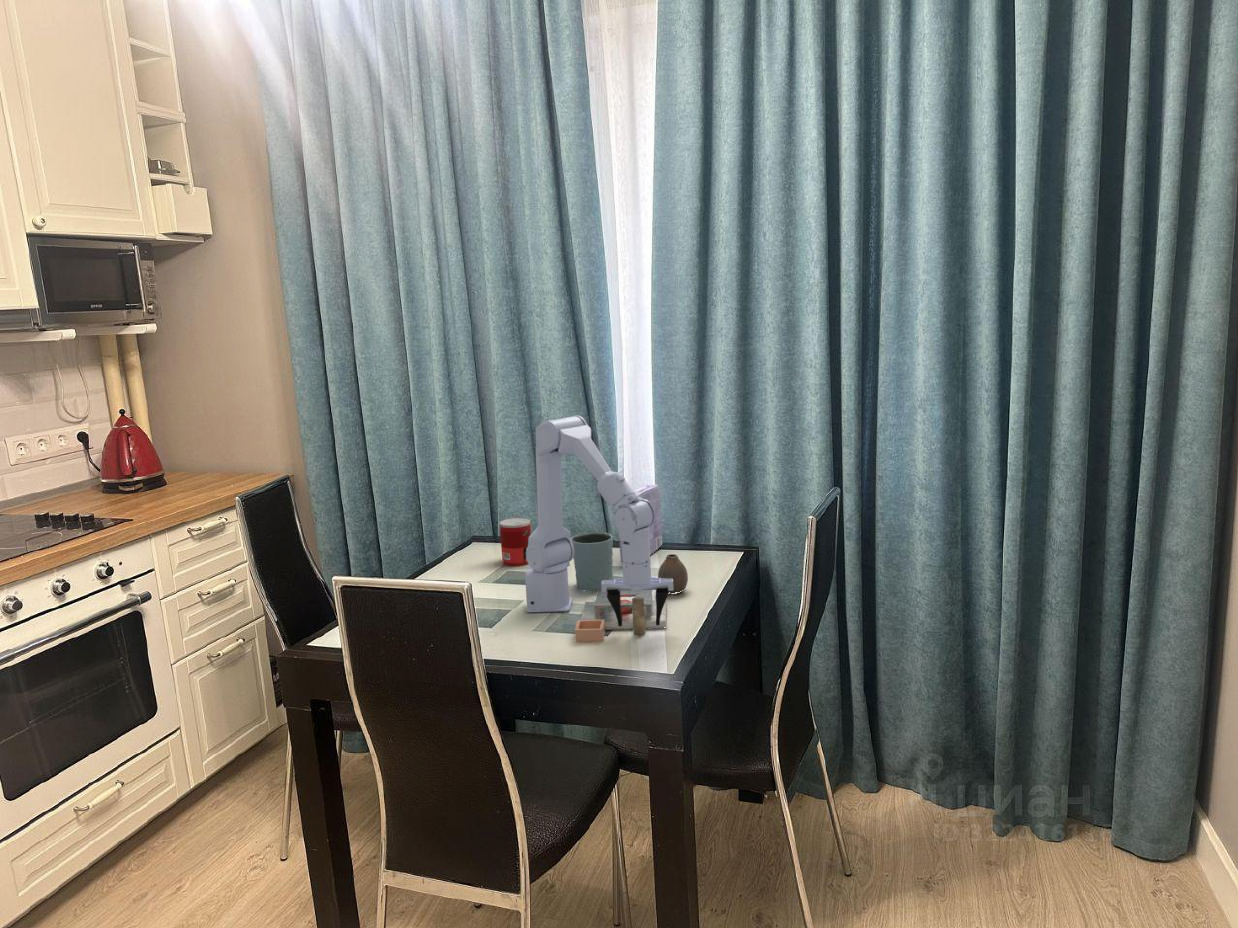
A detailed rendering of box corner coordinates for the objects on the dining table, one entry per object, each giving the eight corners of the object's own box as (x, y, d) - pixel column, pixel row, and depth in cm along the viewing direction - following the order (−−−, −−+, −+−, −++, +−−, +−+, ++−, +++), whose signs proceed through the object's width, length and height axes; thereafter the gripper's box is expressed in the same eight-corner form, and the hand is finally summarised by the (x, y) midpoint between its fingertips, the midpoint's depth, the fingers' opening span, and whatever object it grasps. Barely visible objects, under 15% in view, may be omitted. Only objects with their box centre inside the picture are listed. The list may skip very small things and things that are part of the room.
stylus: (633, 635, 186) (631, 600, 185) (633, 631, 188) (632, 596, 187) (645, 635, 186) (643, 600, 185) (645, 631, 188) (644, 596, 187)
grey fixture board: (580, 630, 190) (578, 610, 190) (585, 608, 203) (584, 589, 202) (666, 628, 189) (665, 608, 188) (666, 606, 202) (665, 587, 201)
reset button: (617, 615, 195) (617, 604, 194) (618, 610, 198) (617, 599, 197) (630, 614, 195) (630, 603, 194) (631, 610, 197) (630, 599, 197)
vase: (663, 598, 208) (662, 561, 206) (654, 589, 214) (653, 553, 213) (692, 594, 209) (691, 557, 208) (682, 585, 216) (681, 549, 214)
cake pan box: (648, 544, 251) (646, 482, 248) (665, 546, 249) (663, 483, 246) (618, 565, 234) (615, 498, 231) (636, 566, 232) (633, 499, 229)
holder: (575, 641, 184) (574, 630, 184) (578, 631, 190) (577, 620, 189) (603, 641, 184) (602, 629, 183) (605, 630, 189) (604, 619, 189)
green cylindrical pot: (610, 593, 213) (607, 543, 211) (568, 592, 215) (565, 542, 213) (618, 579, 223) (616, 531, 220) (578, 578, 225) (576, 531, 222)
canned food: (531, 565, 237) (528, 524, 235) (500, 566, 237) (497, 526, 235) (534, 557, 244) (531, 517, 242) (504, 558, 245) (501, 518, 243)
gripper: (599, 567, 181) (602, 631, 183) (672, 565, 180) (674, 630, 182) (601, 556, 188) (604, 619, 190) (672, 554, 187) (674, 617, 189)
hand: (639, 623), depth 187 cm, fingers open, 7 cm apart
